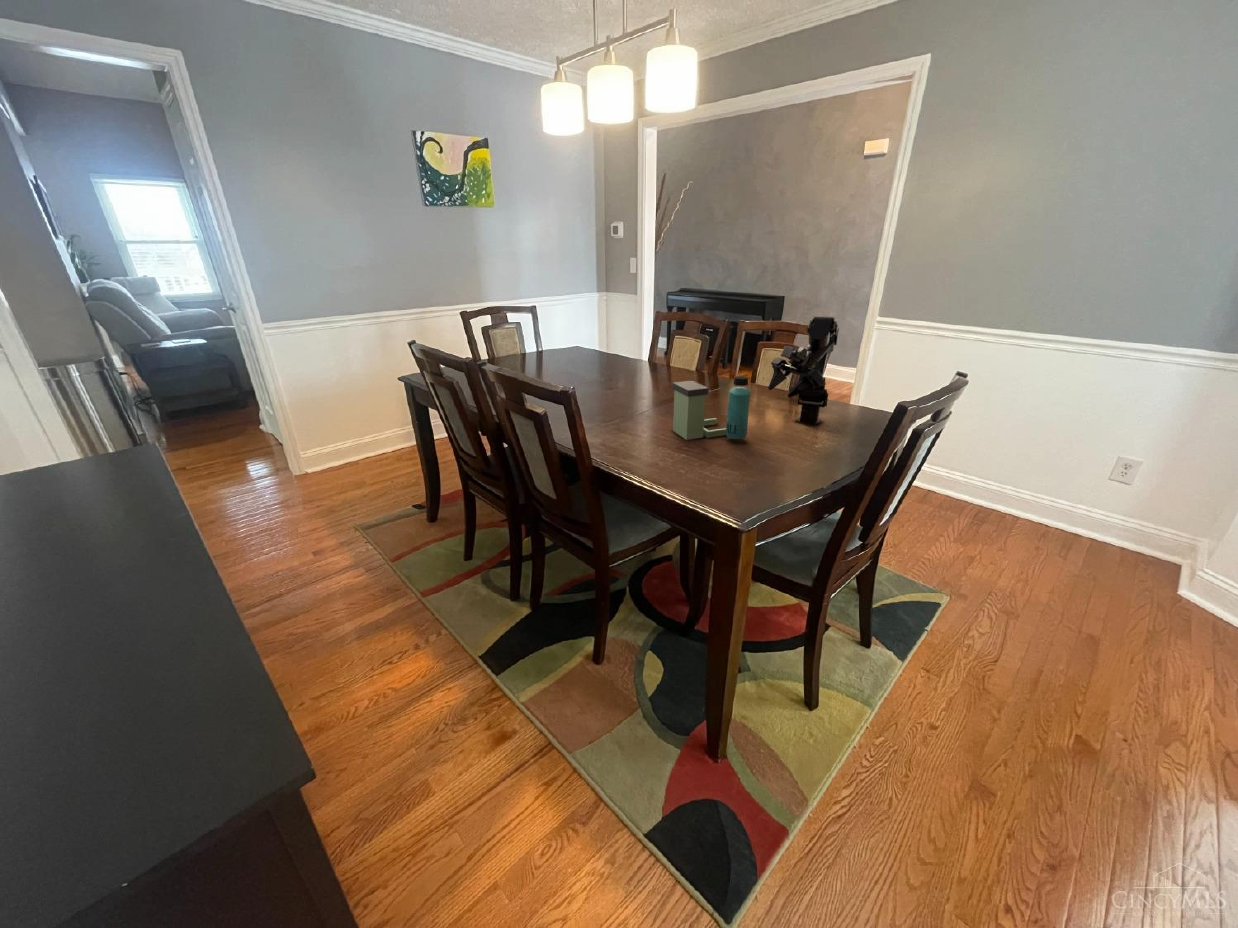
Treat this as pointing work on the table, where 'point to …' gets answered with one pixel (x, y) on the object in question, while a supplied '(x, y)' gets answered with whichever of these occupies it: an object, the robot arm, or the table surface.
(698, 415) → the drink station
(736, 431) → the beverage bottle
